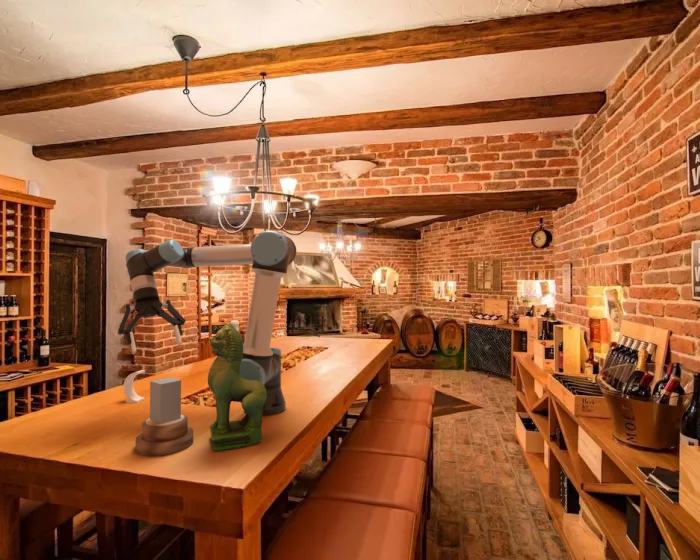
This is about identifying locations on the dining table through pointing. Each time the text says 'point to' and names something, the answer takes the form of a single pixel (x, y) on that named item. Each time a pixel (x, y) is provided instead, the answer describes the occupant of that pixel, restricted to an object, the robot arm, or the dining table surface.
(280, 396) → the robot arm
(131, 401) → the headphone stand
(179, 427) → the walnut pedestal
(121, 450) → the dining table surface
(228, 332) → the lion statue
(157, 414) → the slate block
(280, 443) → the dining table surface
